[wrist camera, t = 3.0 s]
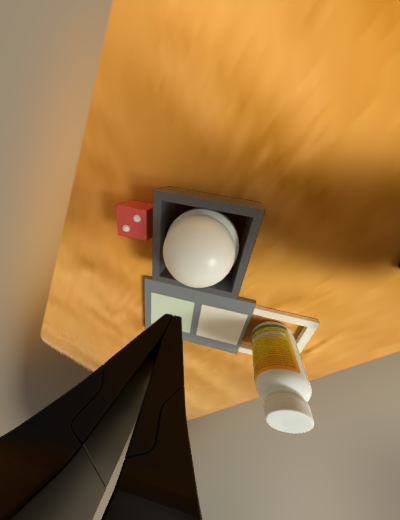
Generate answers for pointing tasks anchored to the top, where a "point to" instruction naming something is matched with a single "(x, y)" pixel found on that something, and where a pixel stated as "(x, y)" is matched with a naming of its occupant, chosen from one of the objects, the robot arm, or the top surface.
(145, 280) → the game board
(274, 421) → the supplement bottle
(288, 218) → the top surface
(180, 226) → the dome
